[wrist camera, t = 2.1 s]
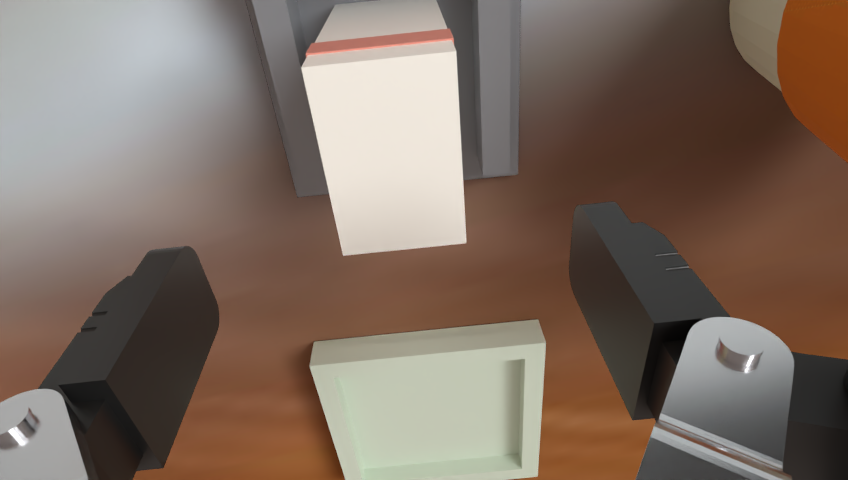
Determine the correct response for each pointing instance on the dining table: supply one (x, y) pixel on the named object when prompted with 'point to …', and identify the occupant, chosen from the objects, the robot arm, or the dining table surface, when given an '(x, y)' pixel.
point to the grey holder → (476, 68)
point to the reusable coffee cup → (800, 58)
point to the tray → (435, 402)
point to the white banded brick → (388, 125)
